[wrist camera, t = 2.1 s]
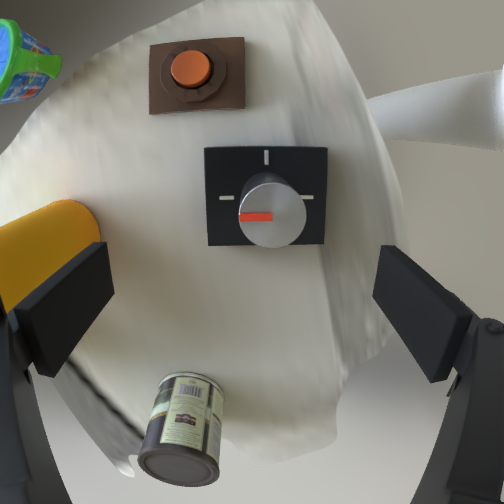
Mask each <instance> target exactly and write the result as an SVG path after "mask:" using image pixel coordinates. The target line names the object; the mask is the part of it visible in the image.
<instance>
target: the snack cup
mask: <svg viewBox="0 0 504 504" xmlns="http://www.w3.org/2000/svg"><path fill="white" fill-rule="evenodd" d="M61 65H62V57H61V56H60V55H52V54H51V52H50V49H49V48H48V47H47V46H45V45H44V44H43V43H41V42H39V41H38V40H36V39H34V38H33V37H32V36H30V35H28V34H27V33H25V32H24V31H22V30H21V29H19V27H18V24H17V23H16V22H15V21H14V20H7V19H0V104H5V103H11V102H16V101H22V100H26V99H29V98H31V97H34V96H36V95H37V94H38V93H39V92H40V91H41V90H42V88H43V87H44V86H45V84H46V82H47V81H48V79H49V77H51V78H53V79H54V78H56V77H57V76H58V74H59V72H60V69H61Z"/></svg>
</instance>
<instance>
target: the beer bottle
mask: <svg viewBox="0 0 504 504" xmlns="http://www.w3.org/2000/svg"><path fill="white" fill-rule="evenodd" d="M93 242H100V231H99V227H98V224H97V222H96V219H95V217H94V216H93V215H92V213H91V212H90V211H89V210H88V209H87V208H86V207H85V206H84V205H82V204H81V203H79V202H77V201H73V200H60V201H56V202H53V203H51V204H49V205H47V206H45V207H43V208H41V209H38V210H36V211H34V212H32V213H29V214H27V215H25V216H23V217H21V218H19V219H16V220H14V221H12V222H10V223H8V224H6V225H4V226H2V227H0V295H1V298H2V301H3V304H4V308H5V311H6V314H7V313H8V312H9V311H10V310H11V309H12V308H13V307H14V306H16V305H17V304H18V303H19V302H20V301H22V299H23V298H25V297H26V296H27V295H28V294H29V293H30V292H31V291H33V290H34V289H35V288H37V287H38V286H39V285H40V284H41V283H43V282H44V281H45V280H46V279H47V278H49V277H50V276H51V275H52V274H53V273H55V272H56V271H57V270H58V269H59V268H61V267H62V266H63V265H64V264H66V263H67V262H68V261H69V260H71V259H72V258H73V257H75V256H76V255H77V254H78V253H80V252H81V251H82V250H83V249H85V248H86V247H87V246H89V245H90V244H91V243H93Z"/></svg>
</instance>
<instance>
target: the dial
mask: <svg viewBox="0 0 504 504" xmlns="http://www.w3.org/2000/svg"><path fill="white" fill-rule="evenodd" d="M305 222H306V207H305V204H304V202H303V200H302V198H301V197H300V195H299V194H298V193H297V192H296V191H295V190H294V189H293V187H292V186H291V185H290V184H289V183H288V182H287V181H286V180H285V179H284V178H283V177H282V176H280V175H278V174H276V173H273V172H261V173H258V174H255V175H253V176H252V177H251V178H249V179H248V180H247V182H246V183H245V185H244V187H243V189H242V193H241V200H240V207H239V223H240V227H241V229H242V231H243V233H244V234H245V236H246V237H247V238H248V239H249V240H250V241H251V242H253V243H254V244H256V245H258V246H261V247H264V248H280V247H283V246H286V245H288V244H290V243H291V242H293V241H294V240H295V239H296V238H297V237H298V236H299V235H300V234H301V232H302V230H303V228H304V226H305Z"/></svg>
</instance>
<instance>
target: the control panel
mask: <svg viewBox="0 0 504 504" xmlns="http://www.w3.org/2000/svg"><path fill="white" fill-rule="evenodd" d="M327 156H328V148H326V147H312V146H223V147H206V148H204V169H205V194H206V215H207V233H208V246H236V245H256V244H254V243H253V242H251V241H250V240H249V239H248V238H247V237H246V236H245V234H244V233H243V231H242V229H241V227H240V223H239V207H240V200H241V193H242V189H243V187H244V185H245V183H246V182H247V180H248V179H249V178H251V177H252V176H253V175H255V174H258V173H261V172H273V173H276V174H278V175H280V176H282V177H283V178H284V179H285V180H286V181H287V182H288V183H289V184H290V185H291V186H292V187H293V189H294V190H295V191H296V192H297V193H298V194H299V195H300V197H301V198H302V200H303V202H304V204H305V207H306V222H305V226H304V228H303V230H302V232H301V234H300V235H299V236H298V237H297V238H296V239H295V240H294V241H293V242H291V243H290V244H288V245H307V244H324V234H325V216H326V193H327Z"/></svg>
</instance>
